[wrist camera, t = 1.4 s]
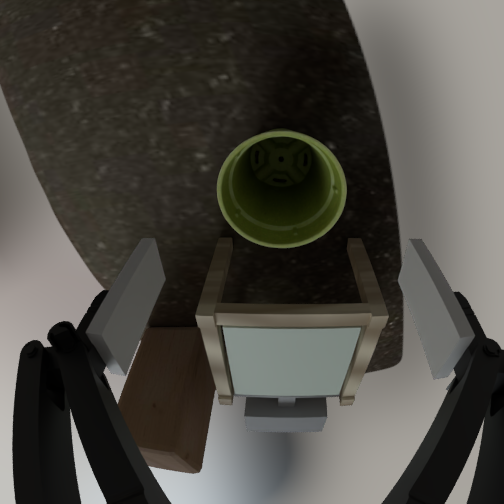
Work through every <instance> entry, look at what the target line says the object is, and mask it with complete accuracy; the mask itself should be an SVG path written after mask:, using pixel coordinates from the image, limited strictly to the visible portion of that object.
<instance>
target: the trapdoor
mask: <svg viewBox="0 0 504 504" xmlns="http://www.w3.org/2000/svg"><path fill="white" fill-rule="evenodd" d="M360 330H361V326H325V327H266V326H230V325H223V332H224V338H225V344H226V349H227V355H228V360H229V365H230V371H231V376H232V381H233V386H234V396H242V397H246V407H245V415H244V417H245V423H246V428H247V431H261V432H318V431H322V429H323V427H324V424H325V421H326V419H327V405H326V397H338V396H340V390H341V387H342V385H343V382H344V379H345V376H346V373H347V370H348V367H349V364H350V361H351V358H352V355H353V352H354V349H355V346H356V343H357V339H358V336H359V333H360Z"/></svg>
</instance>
